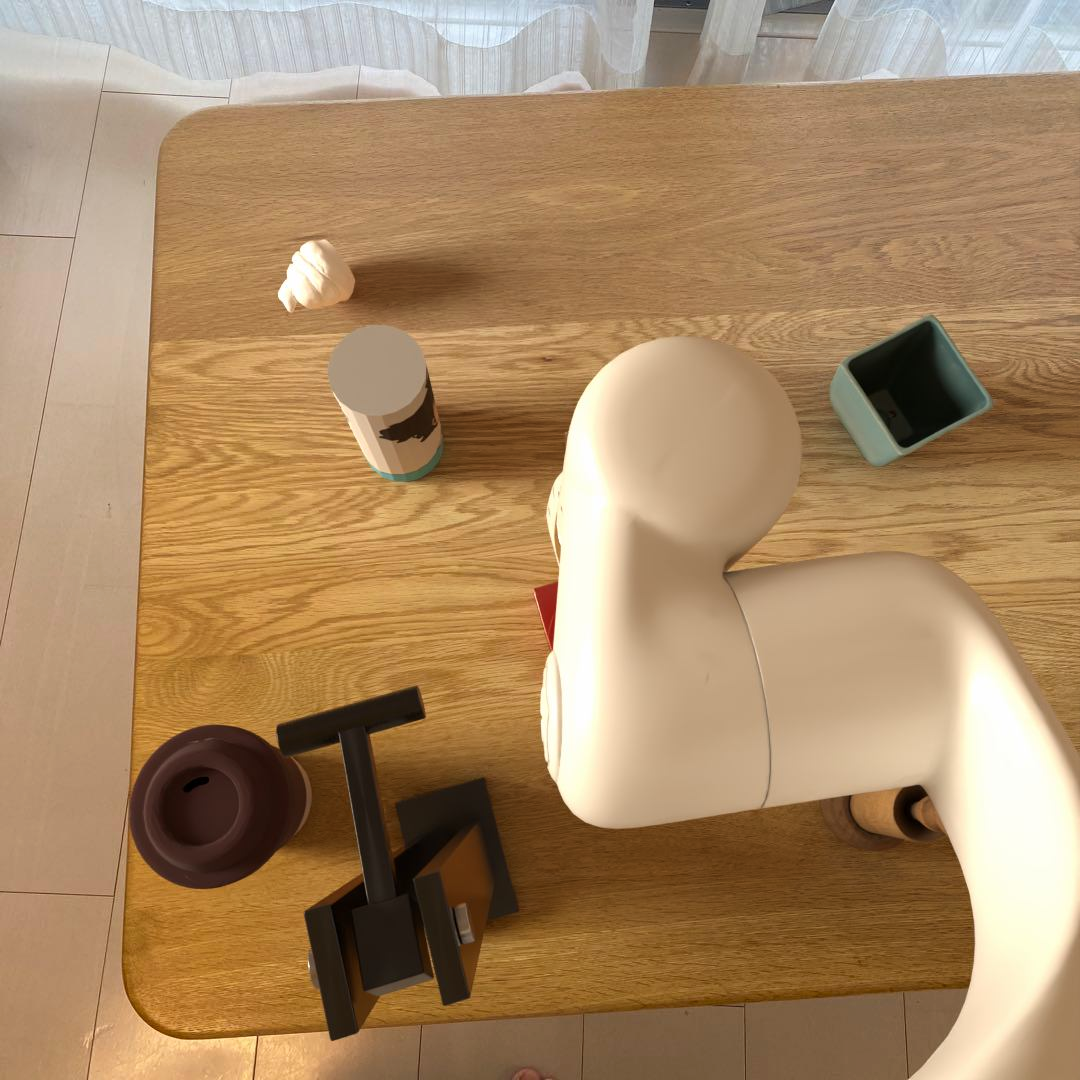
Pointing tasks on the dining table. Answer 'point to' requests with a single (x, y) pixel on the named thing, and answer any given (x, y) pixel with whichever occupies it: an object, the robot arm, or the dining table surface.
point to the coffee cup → (216, 806)
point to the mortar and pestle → (883, 818)
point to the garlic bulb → (316, 277)
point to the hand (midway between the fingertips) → (605, 600)
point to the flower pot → (906, 392)
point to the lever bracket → (420, 901)
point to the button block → (547, 609)
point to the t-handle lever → (371, 836)
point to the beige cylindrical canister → (388, 401)
